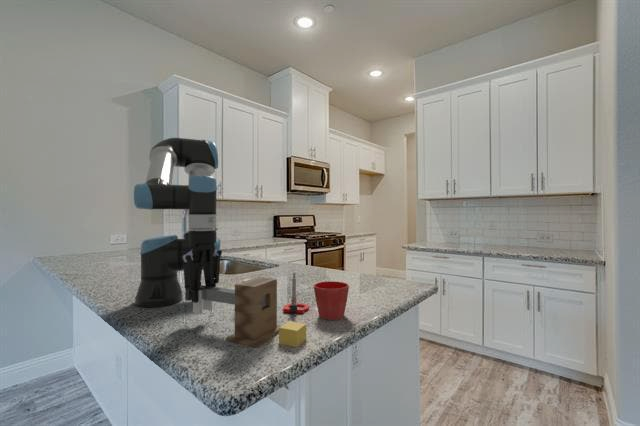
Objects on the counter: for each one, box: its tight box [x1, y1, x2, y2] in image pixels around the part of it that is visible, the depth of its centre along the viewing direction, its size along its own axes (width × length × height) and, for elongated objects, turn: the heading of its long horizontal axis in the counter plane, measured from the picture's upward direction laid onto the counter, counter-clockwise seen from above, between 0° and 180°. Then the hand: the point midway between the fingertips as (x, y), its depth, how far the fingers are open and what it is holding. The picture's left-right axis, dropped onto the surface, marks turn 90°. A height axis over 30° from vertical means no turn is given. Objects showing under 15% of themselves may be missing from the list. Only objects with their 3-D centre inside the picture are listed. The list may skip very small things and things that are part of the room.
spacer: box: [278, 320, 307, 348], centre depth 77 cm, size 5×5×4 cm
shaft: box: [184, 282, 267, 308], centre depth 85 cm, size 26×4×4 cm, turn 65°
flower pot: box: [313, 280, 350, 321], centre depth 95 cm, size 11×11×10 cm
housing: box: [225, 276, 283, 348], centre depth 81 cm, size 9×13×14 cm
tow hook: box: [282, 272, 310, 315], centre depth 102 cm, size 8×13×9 cm
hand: (202, 311), depth 88 cm, fingers closed on shaft, 3 cm apart
